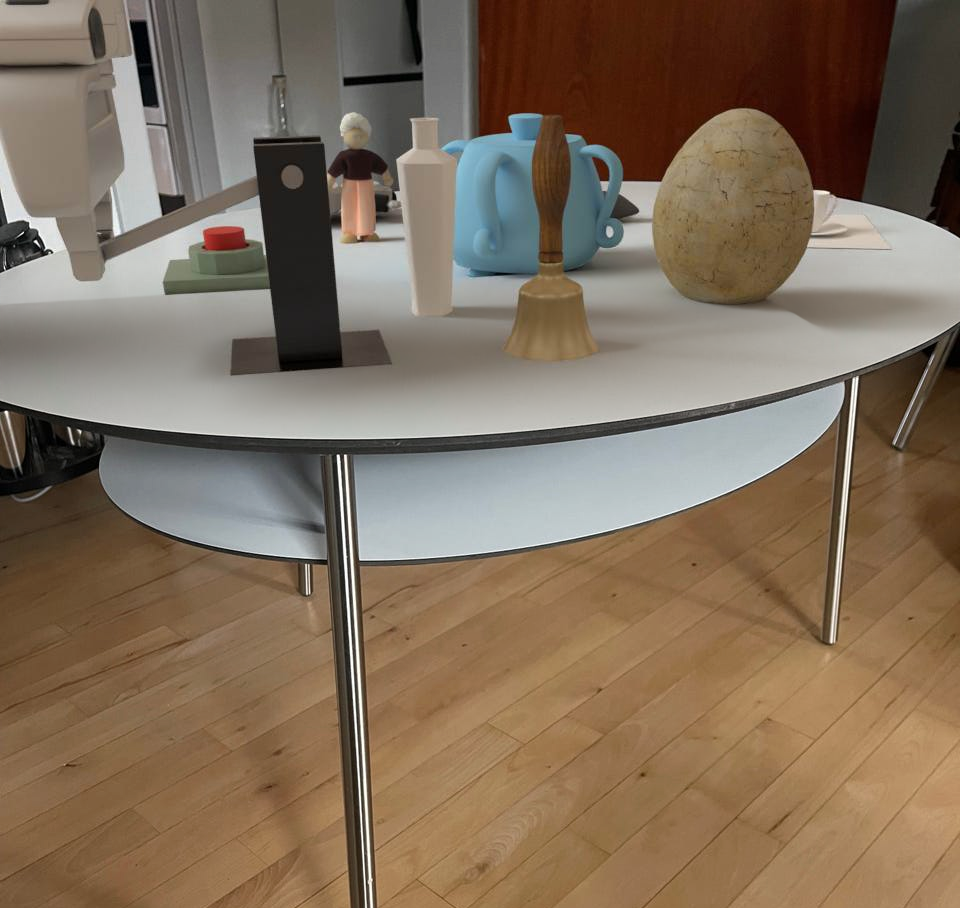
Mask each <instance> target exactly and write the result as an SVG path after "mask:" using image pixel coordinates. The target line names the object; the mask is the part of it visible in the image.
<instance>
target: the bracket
mask: <svg viewBox="0 0 960 908" xmlns="http://www.w3.org/2000/svg"><path fill="white" fill-rule="evenodd" d="M252 142H253V144H252V145H253V156H254V157H253V158H254V165H255V172H256V175H257V183H258V191H259V195H258V199H259V208H260V216H261V223H262V231H263V241H264V251H265V255H266V259H267V267H268V275H269V284H270V289H269V292H270V301H271V307H272V317H273V325H274V333H275V336H262V337H261V336H260V337H245V338H244V337H243V338H233V339H232V340H231V356H230V369H229V370H230V371H229V376H243V375H259V374H272V373H286V372H301V371H315V370H329V369H331V370H332V369H343V368H344V369H345V368H357V367H358V368H359V367H374V366H375V367H376V366H388V365H393V362H392V359H391V356H390V353H389V351H388V349H387V346H386V344H385V341H384V338H383V336H382V334H381V331H380V329H370V330H369V329H368V330H367V329H366V330H354V331H341V324H340V312H339V301H338V300H339V299H338V289H337V276H336V265H335V264H336V263H335V255H334V242H333V229H332V220H331V219H332V218H331V215H330V205H329V193H328V181H327V174H328V169H327V159H326V149H325V143H324V141H322V137H321V135H320V134H314V135H288V136H261V137H260V136H258V137H257V136H256V137H255V136H254V137H253V138H252ZM300 142H302V143H300Z"/></svg>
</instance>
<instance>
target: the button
mask: <svg viewBox="0 0 960 908" xmlns="http://www.w3.org/2000/svg"><path fill="white" fill-rule="evenodd" d="M202 235H203V242H204V243H205V250H212V251H227V250H236V249H242V248H246V240H245V239H246V234H245V228H244V227H241V226H235V225H225V226H223V225H221V226H213V227H207V228H205V229H203V230H202Z"/></svg>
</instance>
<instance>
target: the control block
mask: <svg viewBox="0 0 960 908" xmlns="http://www.w3.org/2000/svg"><path fill="white" fill-rule="evenodd" d="M245 240H246V248H242V249H236V250H227V251H212V250H205V243H204V241H200V242H197V243H194V244H191V245H189V246H188V251H187V253H188V258H186V259H185V258H184V259H183V258H181V259H180V258H179V259H169V262H168V263H167V267H166V270H165V273H164V276H163V279H162V287H163V293H164V296H172V295H173V296H174V295H190V294H208V293H223V292H224V293H225V292H239V291H241V292H242V291H259V290H270V284H269V275H268V267H267V259H266V254H265V253H264V245H263V242H262V241H258V240H255V239H250V238H245Z"/></svg>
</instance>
